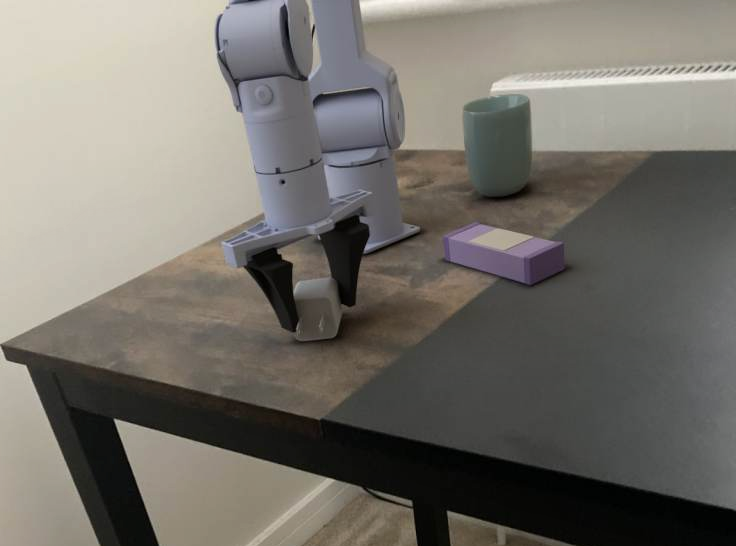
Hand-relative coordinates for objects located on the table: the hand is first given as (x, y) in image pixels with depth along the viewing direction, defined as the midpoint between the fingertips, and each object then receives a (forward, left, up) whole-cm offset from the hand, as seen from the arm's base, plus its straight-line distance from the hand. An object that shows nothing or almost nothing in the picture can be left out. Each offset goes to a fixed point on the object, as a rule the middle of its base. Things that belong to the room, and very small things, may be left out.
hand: (318, 316), depth 82 cm
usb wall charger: (+1, -1, -2) cm, 2 cm away
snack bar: (+3, +20, -1) cm, 20 cm away
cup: (-14, +36, -2) cm, 39 cm away
